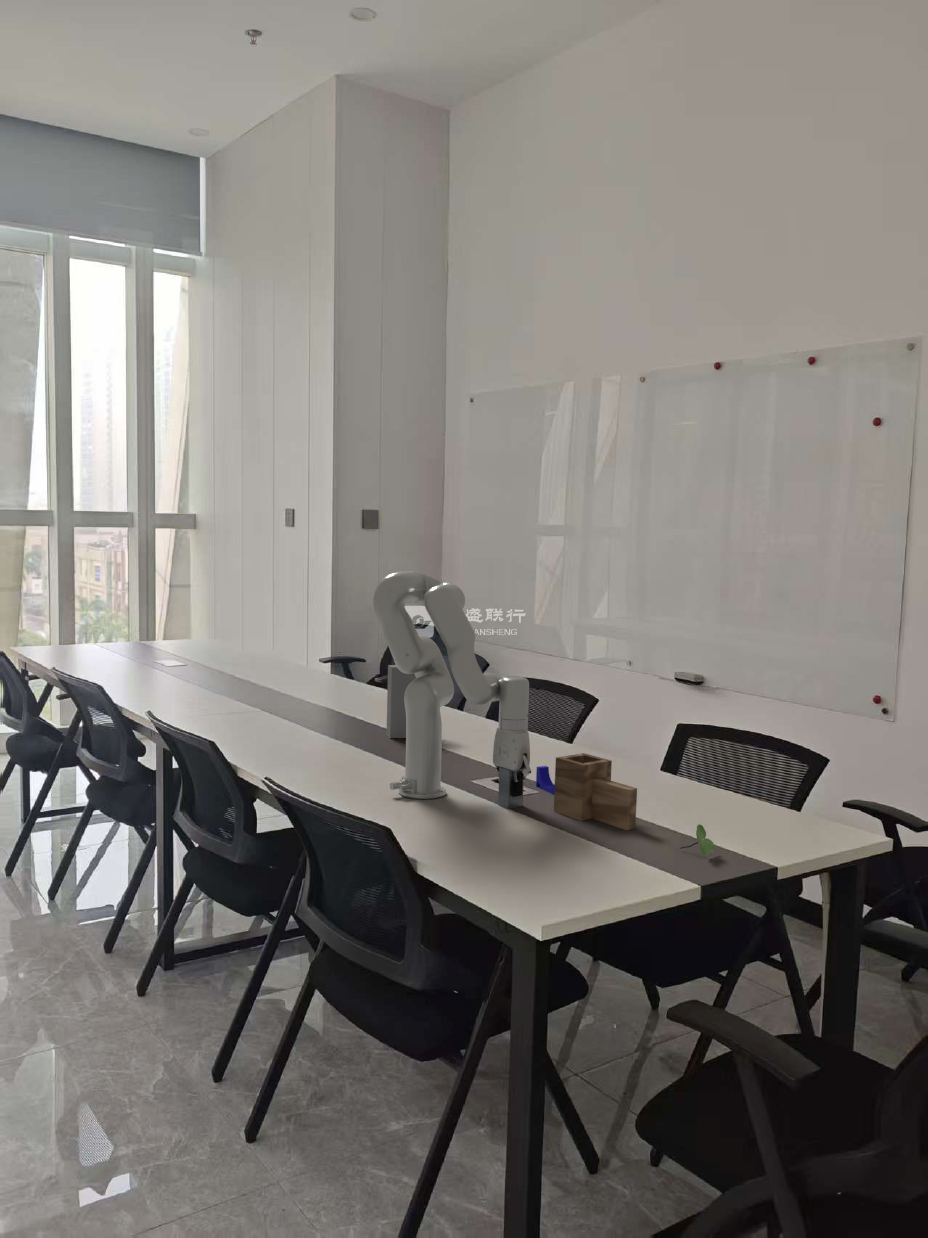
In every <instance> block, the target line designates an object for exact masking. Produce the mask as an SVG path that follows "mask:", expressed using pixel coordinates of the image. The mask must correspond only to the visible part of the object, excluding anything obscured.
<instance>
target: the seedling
mask: <svg viewBox="0 0 928 1238" xmlns="http://www.w3.org/2000/svg"><path fill="white" fill-rule="evenodd" d="M695 836H696V840H697V842H694V843H693V844H691V845H689V846H681V847H680V848H679V849H686V848H691V847H692V846H694V845H697V844H698V845H699V849H700V851H701V852H702V854H703V855H704V856H706V857H708V856H709V852H710V853H711V854H714V852H715V851H716V846H715V844H714V842H713V841H712V840H711V839H710V838H706V837H707V831H706V830H705V828H704V826H703V825H702V824H697V825H696V831H695Z"/></svg>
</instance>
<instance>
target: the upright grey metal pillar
mask: <svg viewBox="0 0 928 1238" xmlns="http://www.w3.org/2000/svg"><path fill="white" fill-rule="evenodd" d="M498 768H499V772H498V774H499V775H498V795H497V796H498V797H497V798H498V800H497V804H498V806H500V807H503V808H506V809H513V808H518V807H523V805H524V785H525V784H524V782H525V780H524V781H523V787H522V795H521V796H517V797H512V781H514V778H513V771H512V770H510V769H507V768H504V767H500V766H498ZM519 773H520V772H518V775H519Z"/></svg>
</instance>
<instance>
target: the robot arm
mask: <svg viewBox="0 0 928 1238" xmlns="http://www.w3.org/2000/svg"><path fill="white" fill-rule="evenodd" d="M464 593H465V592H464V591H463V590H462V589H461V588H460V587H459V586H458V585H456V584H454V583H451V582H448V581H445V580H442V579H439V578H436V577H433V576H432V575H428V574H425V573H424V572H420V571H415V570H411V571H396V572H393V573H390V574H388V575H386V576H384V578H382V579H381V580H380V581H379V582H378V584H377V586H376V587H375V590H374V592H373V596H372V597H373V598H372V607H373V611H374V614H375V616H376V619H377V621H378V624H379V625H380V628H381V631H382V634H383V635H384V638H385V641H386V644H387V647H388V648H389V651H390V654H391V657H392V658H393V662H394V665H396V666H397V668H398V669H399V670H400V671H401V672H403V673H405V674H415V676H416V679H414V680H413V681H412V682H411V683H410V684H409V685H408V686H407V688H406V691H405V696H404V702H405V710H406V739H405V770H404V772H405V773H404V776H401V779H400V780H399V781H394V782H392V781H391V782H390V783H389V789H390V790H391V791H394V790H395V791H396V790H398V792H399V794H400V795H401V796H402V797H406V798H409V799H411V798H412V799H423V800H424V799H425V800H428V799H429V800H430V799H438V798H442V797H444V796H445V795H446V794H447V789H446V787H444V786H442V783H441V782H442V781H441V777H442V748H443V747H442V746H443V745H442V744H443V743H442V740H443V724H442V715H441V708H442V707H444V706H447V704H449V703H450V702H451V700H452V699H453V697H454V694H455V693H454V692H455V686H454V682H453V679H452V676H451V673H452V675H453V678H454V681H455V682H456V684H457V686H458V688H459V690H460V691H461V693H462V695H463V696H464V697H465V699H466V700H467V702H469V703H470V704H472V705H474V706H476V707H477V706H478V707H482V706H486V705H488V704H490V703H494V702H498V701H499V703H498V704H499V708H498V709H499V711H498V727H497V728H496V730H495V735H494V740H493V746H492V747H493V749H492V763H493V765H494V766H495V768H496V770H497V775H498V776H499V768H498V766H500V767H504V768H507V769H510V770H512V771H513V778H514V781H512V797H517V796H521V795H522V787H523V788H524V785H523V781H524V782H525V780H526V778H527V776H529V775H530V774H532V769H531V767H530V764H531V763H530V761H531V744H530V735H529V729H528V728H529V727H528V726H529V725H528V724H529V705H530V704H529V703H530V701H529V700H530V681H529V679H527V678H526V677H523V676H518V675H517V676H516V675H515V676H514V675H512V676H511V675H510V676H509V675H508V676H507V675H502V674H499V673H496V672H495V673H494V672H486V673H483V671H482V670H481V667H480V665H479V663H478V661H477V658H476V653H475V642H476V631H475V629H474V628H473V626H472V624H471V623H470V620H469V619H468V617H467V615H466V614H465V612H464V610H463V609H464V607H465V605H466V596H465V594H464ZM411 603H414V604H416V605H417V604H418V605H421V606H423V607H425V608H424V609H425V610H426V612H427V614H428V616H429V617H430V619H431V622H432V623H433V625H434V627H435V628H436V630H437V633H438V635H439V636H440V638H441V640H442V642H443V644H444V645H445V648H446V652H447V653H446V654H447V658H448V662H449V667H450V670H451V673H450V672H449V669H448V666H447V664H446V662H445V659H444V657H443V653H442V652H441V649H440V648H439V646H438V645H437V643H436V642H435V641H434V640H433V639H432V638H430V637H428V636H423V635H419V633H418V631H417V629H416V626H415V624H414V621H413V619H412V617H411V616H410V614H409V613H408V610H406V607H405V605H406V604H411ZM518 772H520V773H519V775H518Z"/></svg>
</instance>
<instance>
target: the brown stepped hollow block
mask: <svg viewBox="0 0 928 1238" xmlns="http://www.w3.org/2000/svg"><path fill="white" fill-rule="evenodd" d="M612 761H613V760H611V759H606V758H604V757H599V756H596V755H592V754H588V753H585V752H583V753H576V754H570V755H569V754H568V755H564V756H556V757H555V768H554V769H555V770H554V784H555V790H554V795H553V796H554V797H553V812H555V813H556V814H557V813H558V814H560V815H564V816H566V817H569V818H572V819H575V820H578V821H581V822H582V821H587V820H595V821H597V822H600V823H603V824H606V825H609V826H611V827H614V828H619V829H621V830H624V831H630V830H635V829H636V824H637V803H638V802H637V799H638V788H637V787H634V786H632V785H631V786H630V785H628V784H623V783H620V782H617V781H613V780H612Z"/></svg>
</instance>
